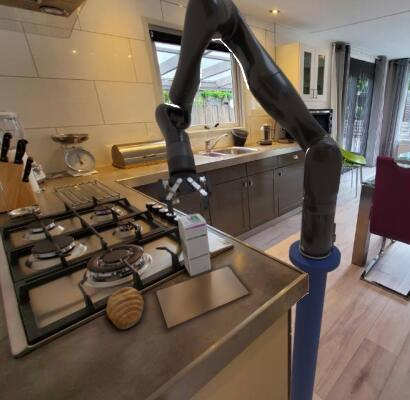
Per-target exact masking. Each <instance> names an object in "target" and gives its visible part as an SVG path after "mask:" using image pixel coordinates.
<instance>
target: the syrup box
mask: <svg viewBox="0 0 410 400" xmlns="http://www.w3.org/2000/svg"><path fill="white" fill-rule="evenodd" d="M177 223H178V231H179V238H180V239H179V240H180V245H181V252H182V259H183V265H184V267H185V269H186V271H187V272H188V274H189V276H190V277H192V276H197V275H199V274H203V273H204V272H207V271H210V270H212V265H211V263H212V262H211V253H210V243H209V234H208V224H207V220H206V219H205V218H204V217H203V216H202V215H201V214H200V213H199V212H198V213H190V214H186V215H183V216H180V217H178V218H177ZM184 263H185V264H184Z"/></svg>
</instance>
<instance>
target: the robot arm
mask: <svg viewBox="0 0 410 400" xmlns="http://www.w3.org/2000/svg"><path fill="white" fill-rule="evenodd" d="M251 29H252V28H250V26H249V24H248V22H247V21H246V19H245V18H244V16H243V14H242V13H241V10H239V8H238V6H237V5H236V3H235V2H234V1H233V0H188V1H187V6H186V9H185V14H184V21H183V28H182V34H181V40H180V41H181V42H180V48H179V54H178V55H179V56H178V61H177V66H176V69H175V72H174V76H173V78H172V82H171V85H170V88H169V91H168V99H169V102H171V103H172V104H170V103H166V102H161V103H159V104H158V105H157V106H156V108H155V111H154V118H155V122H156V124H157V126H158V128H159V130H160V132H161V135H162V136H163V138H164V142H165V151H166V163H167V170H168V180H167V179H166V180H163V179H162V178H158V179H157V195H158V201H159V202H160V203H165V204H166V207H167V213H168V215H170V217H174V216H175V212H174V204H173V201H174V199H175V198H176V197H177V196H178V194H179V195H185V194H193V193H194V194H196V195H197V196H199V197H200V198H201V202H202V208H203V211H204V212H207V211H208V209H209V208H210V203H209V197H210V198H211V197H213V195H214V188H213V185H212V181H211V178H210V175H209V174H205V175H204V176H199V175H198V172H197V166H196V161H195V156H194V151H193V149H192V145H191V139H190V134H189V132H188V131H187V130H188V129H189V128H190V127H191V124H192V114H193V106H194V102H195V99H196V97H197V95H198V93H199V90H200V87H201V83H202V60H203V57H204V54H205V52H206V50H207V48H208V46H209V45H210V43H211V42H212V41H221V43H222V44H224V46H225V47H226V48H227V49H228V50H229V51H230V52H231V54H232V56H234V58H235V59H236V61H237V62H238V63H239V66H240V68H241V71H242V75H243V78H244V81H245V83H246V87H247V89H248V91H249V92H250V94H251V96H252V97H253V99H255V101H256V102H257V103H258V105H260V107H261V108H262V109H263V111H264V112H265V113H266V114H267V115H268V116H269V117H270V118H271V119H272V120H274V121H275V123H277V125H279V126H280V127H281V128H282V129H284V130H285V131H286V132H287V133H289V135H290V136H291V137H292V138H293V139H294V140H295V142H296V143H297V144H298V146H299V147H300V149H301V151H302V152H303V154H304V155H305V156H304V163H303V164H304V165H303V177H302V178H303V179H302V205H301V221H300V233H299V235H300V236H299V240H300V243H299V252H300V254H301V255H302V256H304V257H305V258H307V259H311V260H324V259H327V258H328V257H329V256H330V255H331V252H333V246H334V245H335V243H336V238H337V234H336V231H337V230H336V229H337V223H336V221H335V220H336V219H335V218H336V210H337V203H338V202H337V201H338V195H339V192H340V184H341V179H342V171H343V160H344V159H343V158H344V157H343V152H342V149H341V146H340V144H339V143H338V142H337V141H336V140H335V139H334V138H333V137H332V136H331V135H330V134H329V133H328V132H327V131H326V130H325V129H324V128H323V127H322V126H321V124H319V122H318V121H317V120H316V119H315V118H314V116H313V114H312V113H311V111H310V110H309V108H308V106H307V104H306V103H305V101H304V100H303V98H302V96H301V95H300V93H299V92H298V90H297V89H296V87H295V85H294V84H293V83H292V82H291V80H290V79H289V78H288V77H287V75H286V74H285V72H284V71H283V70H282V68H281V67H280V66H279V65H278V64H277V62H276V61H275V60H274V58H272V56H271V55H270V53H269V52H268V50H267V49H266V48H265V47H264V46H263V45H262V43H261V42H260V41H259V40H258V38H257V37H256V35H255V34H254V32H253V31H252V30H251ZM200 183H202V184H203V185H205V188H206V190H205V189H203V187H202V186H201V185H199V184H200ZM167 186H169V187H170V188H171V189H170V190H169V192H168V194H167V195H165V193H164V192H165V191H164V189H167Z"/></svg>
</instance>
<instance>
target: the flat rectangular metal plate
mask: <svg viewBox="0 0 410 400" xmlns="http://www.w3.org/2000/svg"><path fill="white" fill-rule="evenodd" d="M155 293H156V296H157V300H158V302H159V306H160V310H161V311H162V315H163V318H164V321H165V324H166V327H167V329H168V330H169V329H171V328H174V327H175V326H178V325H180V324H183V323H185V322H187V321H189V320H193V319H194V318H196V317H199V316H201V315H204V314H206V313H208V312H210V311H213V310H215V309H217V308H219V307H222V306H224V305H227V304H229V303H231V302H233V301H236V300H238V299H240V298H243V297H245V296H247V295H249V294H250V292H249V291H248V290H247V289H246V287H245V286H244V285H243V283H242V282H241V281H240V280H239V278H238V277H237V275H235V273H234V272H233V271H232V269H231V268H230V267H229V266H228V265H227V266H225V267H222V268H221V267H220V268H219V269H216V270H214V271H210V272H207V273H205V274H201V275H199V276H196V277H193V278H190V279H188V280H184V281H182V282H179V283H176V284H174V285H171V286H167V287H164V288H162V289H159V290H157V291H155Z"/></svg>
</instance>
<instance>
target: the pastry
mask: <svg viewBox="0 0 410 400" xmlns="http://www.w3.org/2000/svg"><path fill="white" fill-rule="evenodd" d="M144 303H145V301H144V299H143V297H142V293H141V291H140V290H138V289H136V288H134V287H132V286H125V287H122V288H119V289H117V290H116V291H115V292H113V293H111V295H110V296H109V298H108V300H107V302H106V308H105V312H106V314H107V317H108V319H109V320H110V321H111V322H112V323H113V325H114V326H115V327H116V328H117V329H120V330H122V331H123V330H127V329H129V328H131V327H133V326H134V325H136V324H137V323H139V322H140V320H141V318H142V315H143V310H144Z"/></svg>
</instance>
